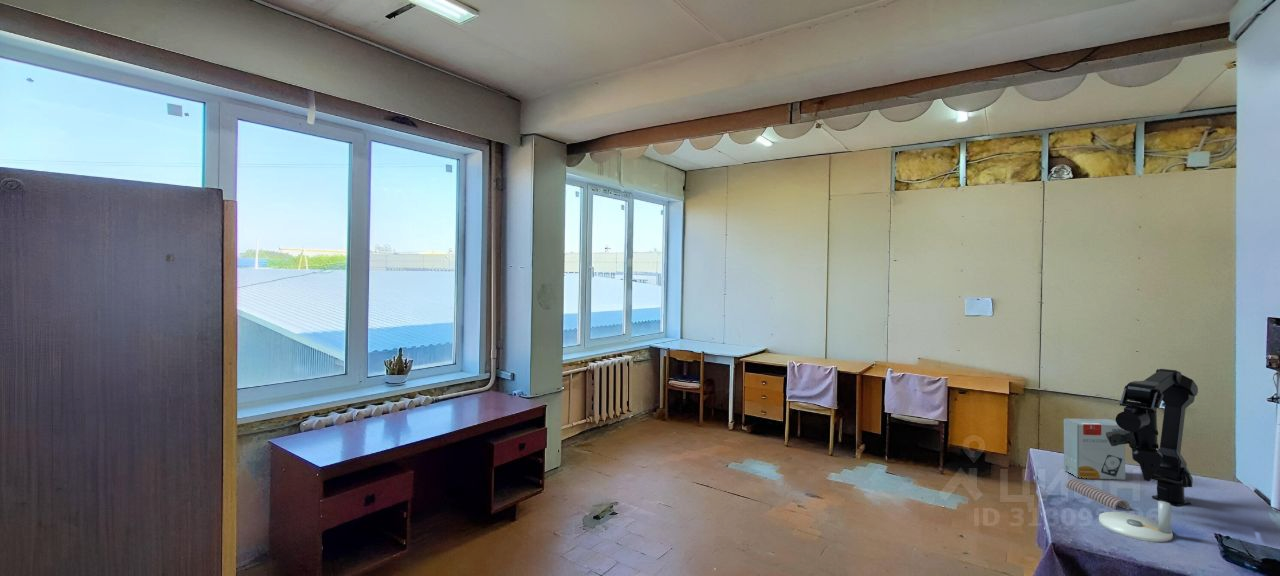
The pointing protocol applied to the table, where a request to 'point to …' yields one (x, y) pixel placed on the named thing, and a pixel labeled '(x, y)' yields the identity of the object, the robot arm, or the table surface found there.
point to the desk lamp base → (1140, 524)
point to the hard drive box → (1092, 449)
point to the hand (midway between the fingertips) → (1145, 475)
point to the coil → (1096, 494)
